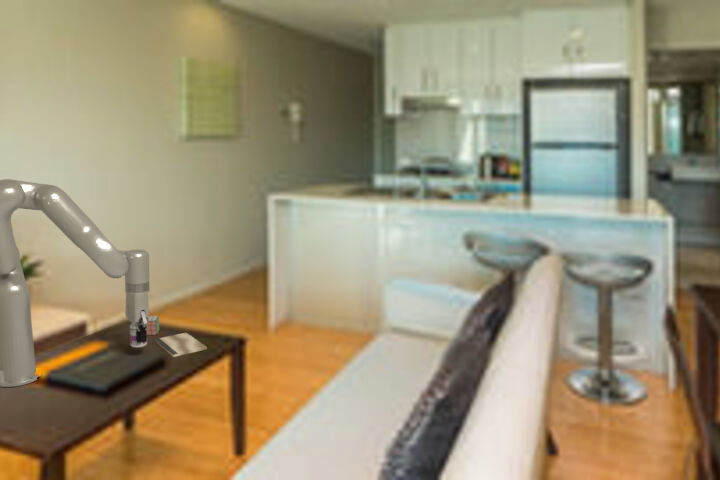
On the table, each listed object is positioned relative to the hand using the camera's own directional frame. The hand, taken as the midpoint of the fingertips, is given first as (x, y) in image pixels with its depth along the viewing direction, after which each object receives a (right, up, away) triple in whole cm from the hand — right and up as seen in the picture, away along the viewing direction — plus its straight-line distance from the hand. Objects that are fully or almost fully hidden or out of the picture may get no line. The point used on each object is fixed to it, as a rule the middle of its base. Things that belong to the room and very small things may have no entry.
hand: (138, 338), depth 191 cm
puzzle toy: (-4, -2, +23) cm, 23 cm away
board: (+11, -4, +11) cm, 16 cm away
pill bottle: (0, -3, 0) cm, 3 cm away
